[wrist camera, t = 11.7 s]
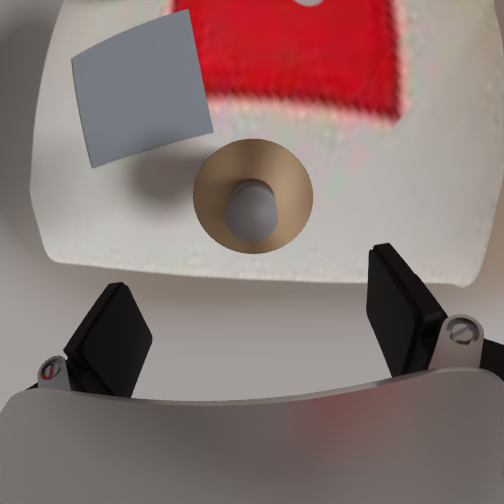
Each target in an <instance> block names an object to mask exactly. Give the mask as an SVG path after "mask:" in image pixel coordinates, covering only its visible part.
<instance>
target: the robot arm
mask: <svg viewBox="0 0 504 504" xmlns="http://www.w3.org/2000/svg"><path fill="white" fill-rule="evenodd" d="M367 290H368V291H367V305H366V312H367V316H368V319H369V321H370V323H371V326H372V328H373V330H374V333H375V335H376V338H377V340H378V342H379V345H380V347H381V350H382V352H383V355H384V357H385V360H386V362H387V365H388V368H389V370H390V373H391V376H392V378H388V379H384V380H380V381H375V382H370V383H365V384H361V385H356V386H350V387H345V388H339V389H333V390H328V391H322V392H315V393H308V394H301V395H293V396H284V397H275V398H262V399H249V400H229V401H170V400H169V401H167V400H149V399H136V398H131V396H132V393H133V390H134V388H135V385H136V382H137V380H138V377H139V374H140V372H141V369H142V366H143V364H144V361H145V358H146V356H147V354H148V351H149V349H150V346H151V344H152V334H151V332H150V330H149V328H148V326H147V324H146V322H145V320H144V319H143V317H142V314H141V312H140V311H139V308H138V306H137V304H136V302H135V300H134V298H133V296H132V294H131V291H130V289H129V287H128V286H127V285H125V284H124V283H123V282H118V283H111V284H109V285H108V286H107V287H106V289H105V290H104V291H103V293H102V294H101V295H100V297H99V298H98V299H97V301H96V302H95V304H94V305H93V306H92V308H91V309H90V311H89V312H88V314H87V315H86V316H85V318H84V319H83V321H82V322H81V324H80V325H79V327H78V328H77V330H76V331H75V333H74V334H73V336H72V337H71V339H70V340H69V342H68V344H67V345H66V347H65V348H64V350H63V351H64V353H65V354H66V355H67V357H68V359H67V360H65V359H64V358H63V357H62V356H53V357H51V358H49V359H48V360H46V361H45V362H44V363H43V364H42V366H41V367H40V369H39V372H38V383H36V384H34V385H33V386H31V387H30V388H28V389H26V390H25V391H21V392H19V393H17V394H15V395H13V396H12V397H11V398H10V399H9V401H8V402H7V403H6V405H5V407H4V408H3V410H2V412H1V413H0V504H504V345H502V344H499V343H496V342H493V341H490V340H487V339H484V332H483V329H482V326H481V325H480V324H479V322H478V321H477V320H475V319H474V318H473V317H470V316H468V315H463V314H456V315H452V316H450V317H448V316H447V314H446V313H445V312H444V310H443V309H442V307H441V306H440V305H439V303H438V302H437V301H436V299H435V298H434V297H433V295H432V294H431V292H430V291H429V290H428V289H427V287H426V286H425V284H424V283H423V282H422V281H421V279H420V278H419V277H418V276H417V275H416V274H415V273H414V272H413V271H412V270H411V268H410V267H409V266H408V265H407V263H406V262H405V261H404V260H403V259H402V257H401V256H400V255H399V254H398V253H397V251H396V250H395V249H394V248H393V247H392V245H391V244H390V243H384V244H378V245H374V247H373V249H372V250H370V251H369V267H368V289H367Z"/></svg>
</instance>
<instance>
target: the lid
mask: <svg viewBox="0 0 504 504" xmlns="http://www.w3.org/2000/svg"><path fill="white" fill-rule="evenodd" d="M193 201H194V208H195V212H196V215H197V218H198V220H199V222H200V224H201V226H202V227H203V228H204V230H205V231H206V232H207V233H208V235H209V236H210V237H211V238H213V239H214V240H215V241H216V242H218V243H219V244H221V245H222V246H224V247H226V248H228V249H231V250H233V251H236V252H241V253H247V254H260V253H266V252H270V251H274V250H276V249H279V248H281V247H283V246H285V245H286V244H288V243H289V242H291V241H292V240H293V239H294V238H295V237H296V236H297V235H298V234H299V233H300V232H301V231H302V229H303V228H304V226H305V225H306V223H307V221H308V219H309V216H310V213H311V210H312V205H313V189H312V184H311V181H310V178H309V175H308V173H307V171H306V169H305V167H304V166H303V165H302V163H301V162H300V161H299V160H298V159H297V158H296V157H295V155H294V154H292V153H291V152H290V151H289V150H287V149H286V148H284V147H282V146H281V145H279V144H276V143H274V142H271V141H267V140H262V139H245V140H239V141H235V142H232V143H230V144H228V145H225V146H224V147H222V148H220V149H219V150H217V151H216V152H215V153H214V154H212V155H211V156H210V157H209V158H208V159H207V161H206V162H205V163H204V165H203V166H202V167H201V169H200V171H199V173H198V175H197V178H196V181H195V185H194V191H193Z"/></svg>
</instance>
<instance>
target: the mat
mask: <svg viewBox="0 0 504 504" xmlns="http://www.w3.org/2000/svg"><path fill="white" fill-rule="evenodd" d="M72 65H73V73H74V80H75V87H76V94H77V100H78V105H79V111H80V116H81V121H82V126H83V130H84V135H85V139H86V144H87V148H88V152H89V156H90V160H91V163H92V167H93V168H95V167H98V166H101V165H103V164H106V163H109V162H112V161H115V160H117V159H120V158H123V157H126V156H129V155H132V154H135V153H138V152H142V151H145V150H148V149H151V148H155V147H158V146H162V145H165V144H169V143H172V142H176V141H180V140H184V139H187V138H191V137H196V136H200V135H204V134H208V133H213V128H212V123H211V118H210V113H209V109H208V104H207V99H206V94H205V89H204V85H203V80H202V75H201V70H200V65H199V60H198V55H197V50H196V45H195V40H194V35H193V30H192V25H191V20H190V15H189V10H188V9H186V10H182V11H179V12H176V13H173V14H169V15H166V16H163V17H160V18H157V19H155V20H152V21H149V22H147V23H144V24H141V25H139V26H136V27H134V28H131V29H129V30H127V31H124V32H122V33H120V34H118V35H115V36H113V37H111V38H109V39H107V40H105V41H103V42H101V43H99V44H97V45H95V46H93V47H91V48H89V49H87V50H86V51H84V52H82V53H80V54H78V55H77V56H75V57H73V58H72Z"/></svg>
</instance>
